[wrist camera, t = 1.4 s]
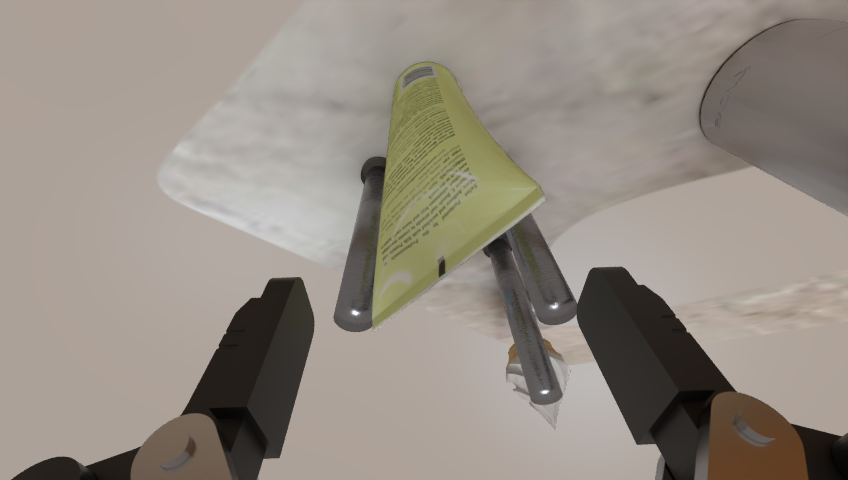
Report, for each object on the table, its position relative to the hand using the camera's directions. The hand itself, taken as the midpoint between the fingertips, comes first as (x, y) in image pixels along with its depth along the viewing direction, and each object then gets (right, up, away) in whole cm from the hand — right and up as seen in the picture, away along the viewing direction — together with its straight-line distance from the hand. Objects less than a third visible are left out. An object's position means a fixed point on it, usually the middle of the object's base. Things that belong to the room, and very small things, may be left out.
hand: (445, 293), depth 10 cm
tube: (-1, +12, +16) cm, 21 cm away
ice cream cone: (+9, -4, +29) cm, 31 cm away
